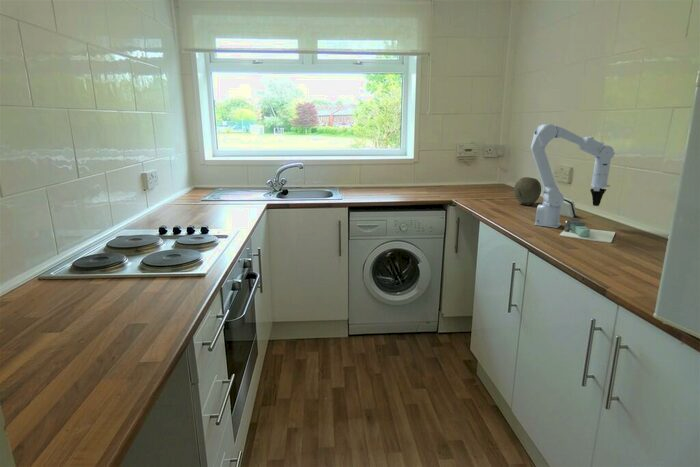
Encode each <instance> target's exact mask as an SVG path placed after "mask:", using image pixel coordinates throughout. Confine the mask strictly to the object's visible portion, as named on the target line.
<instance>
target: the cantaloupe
mask: <svg viewBox="0 0 700 467" xmlns="http://www.w3.org/2000/svg"><path fill="white" fill-rule="evenodd" d="M541 184H542V183H541V181H539V180H538V179H537V178H534V177H529V176H525V177H521V178H520V179H518V180H517V182H516V183H515V184H514V188H513V193H514V197H515V199H516V200H517V201H518V202H519V203H520V204H522V205H525V206H530V205H533V204H534V203H536V202H537V201H538V200H539V198H540V196H541V194H542V193H541V192H542V186H541Z"/></svg>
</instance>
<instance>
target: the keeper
mask: <svg viewBox="0 0 700 467" xmlns="http://www.w3.org/2000/svg"><path fill="white" fill-rule="evenodd" d="M570 224H577V225H584V226H586V221H580V220H579V221H571V220H565V221H564V229H563V230H564V231H565V232H569V230H570Z"/></svg>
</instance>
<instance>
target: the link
mask: <svg viewBox="0 0 700 467" xmlns="http://www.w3.org/2000/svg"><path fill="white" fill-rule="evenodd" d="M570 229H572V230H573V231H574V232H576V233H577V234H578V235H579V236H583V237H589V235H590V229H591V228H588V227H587V226H586V225H577V224H570Z"/></svg>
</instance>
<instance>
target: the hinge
mask: <svg viewBox="0 0 700 467" xmlns="http://www.w3.org/2000/svg"><path fill="white" fill-rule="evenodd" d="M541 202H542V203H541V205H543V203H544V202H545V201H544V200H542V201H541ZM575 206H576V204H575V201H573V200H571V199H569V198H566V197H564V201H563V203H562V204H561V210H560V216H562V217H568V218H574V217H578V216H579V214H578V212H577V211H576V207H575Z"/></svg>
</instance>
